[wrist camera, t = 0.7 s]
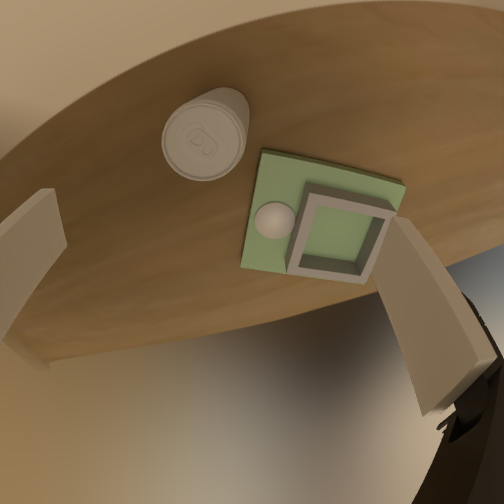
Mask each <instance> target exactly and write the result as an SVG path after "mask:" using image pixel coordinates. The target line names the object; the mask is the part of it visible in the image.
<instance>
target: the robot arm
mask: <svg viewBox="0 0 504 504" xmlns="http://www.w3.org/2000/svg"><path fill="white" fill-rule="evenodd" d="M66 247H67V242H66V238H65V234H64V230H63V226H62V222H61V217H60V213H59V208H58V203H57V198H56V193H55V188H46V189H40V190H39V191H38V192H36V193H35V194H34V195H33V196H31V197H30V198H29V199H28V200H27V201H25V202H24V203H23V204H22V205H21V206H20V207H18V208H17V209H16V210H15V211H14V212H13V213H12V214H10V215H9V216H8V217H7V218H6V219H5V220H4V221H3V222H2V223H1V224H0V343H1V342H2V340H3V338H4V336H5V335H6V333H7V331H8V330H9V328H10V326H11V325H12V323H13V322H14V320H15V318H16V317H17V315H18V314H19V312H20V311H21V309H22V308H23V306H24V304H25V303H26V301H27V300H28V299H29V297H30V296H31V294H32V293H33V291H34V290H35V288H36V287H37V286H38V284H39V283H40V281H41V280H42V279H43V277H44V276H45V274H46V273H47V272H48V270H49V269H50V268H51V266H52V265H53V264H54V262H55V261H56V260H57V259H58V257H59V256H60V255H61V253H62V252H63V251H64V250H65V248H66ZM371 275H372V277H373V280H374V282H375V284H376V287H377V289H378V291H379V294H380V296H381V299H382V301H383V303H384V306H385V309H386V311H387V313H388V316H389V318H390V321H391V324H392V326H393V329H394V332H395V334H396V337H397V339H398V342H399V345H400V348H401V351H402V353H403V356H404V359H405V362H406V365H407V368H408V371H409V374H410V377H411V380H412V383H413V386H414V390H415V393H416V396H417V399H418V403H419V406H420V409H421V413H422V416H423V417H426V416H431V415H436V414H440V413H443V412H444V411H445V410H446V409H447V408H448V407H449V406H450V405H451V404H453V403H454V405H455V408H456V411H454V412H453V413H452V414H451V415H450V416H449V417H447V418H446V419H445V420H444V421H443V422H441V423H440V424H439V425H438V427H437V430H440V429H441V428H442V427H444V426H445V425H446V424H447V427H446V429H445V430H444V431H443V432H442V433H444V436H443V438H442V441H441V443H440V445H439V448H438V450H437V452H436V455H435V457H434V459H433V462H432V464H431V466H430V468H429V470H428V473H427V475H426V477H425V479H424V481H423V483H422V485H421V487H420V489H419V491H418V493H417V495H416V496H415V498H414V500H413V502H412V504H504V359H503V356H502V354H501V352H500V350H499V349H498V347H497V345H496V343H495V341H494V339H493V337H492V336H491V334H490V332H489V330H488V328H487V327H486V326H485V325H484V324H485V323H484V321H483V320H482V318H481V316H479V313H478V311H477V309H476V308H475V306H474V305H473V303H472V302H471V301H470V300H469V299H468V298H467V297H466V296H465V295H464V294H463V293H462V292H460V290H459V289H458V287H457V285H456V284H455V282H454V281H453V279H452V278H451V276H450V275H449V273H448V272H447V270H446V269H445V267H444V266H443V264H442V263H441V262H440V260H439V259H438V257H437V256H436V254H435V253H434V252H433V250H432V249H431V248H430V246H429V245H428V243H427V242H426V241H425V239H424V238H423V237H422V235H421V234H420V233H419V232H418V230H417V229H416V228H415V226H414V225H413V224H412V223H411V221H410V220H409V219H408V218H402V217H396V216H392V217H391V220H390V223H389V226H388V229H387V232H386V235H385V237H384V240H383V243H382V246H381V248H380V251H379V254H378V256H377V259H376V262H375V264H374V267H373V269H372V272H371Z"/></svg>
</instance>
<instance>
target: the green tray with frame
mask: <svg viewBox="0 0 504 504" xmlns="http://www.w3.org/2000/svg"><path fill="white" fill-rule="evenodd" d="M406 188H407V187H406V186H405V185H404V184H403V183H402V182H401V181H398V180H395V179H392V178H388V177H385V176H381V175H377V174H374V173H370V172H366V171H363V170H359V169H355V168H351V167H347V166H343V165H339V164H335V163H330V162H326V161H322V160H317V159H312V158H308V157H303V156H298V155H293V154H288V153H283V152H278V151H272V150H267V149H262V151H261V156H260V161H259V166H258V171H257V177H256V182H255V187H254V192H253V198H252V203H251V208H250V214H249V219H248V224H247V230H246V235H245V240H244V246H243V251H242V256H241V265H240V267H242V268H248V269H255V270H262V271H269V272H276V273H283V274H290V275H298V276H305V277H312V278H319V279H327V280H334V281H342V282H349V283H357V284H365V283H366V281H367V279H368V277H369V275H370V273H371V271H372V269H373V267H374V264H375V262H376V259H377V256H378V254H379V251H380V248H381V246H382V243H383V240H384V237H385V235H386V232H387V229H388V226H389V223H390V220H391V217H392V216H396V215H397V211H398V208H399V206H400V203H401V201H402V198H403V195H404V193H405V190H406Z"/></svg>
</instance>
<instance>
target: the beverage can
mask: <svg viewBox="0 0 504 504" xmlns="http://www.w3.org/2000/svg"><path fill="white" fill-rule="evenodd" d="M249 118H250V110H249V105H248V102H247V100H246V99H245V97H244V96H243V94H241V93H240V92H239V91H237V90H235V89H232V88H227V87H221V88H216V89H213V90H211V91H209V92H207V93H205V94H203V95H201V96H199V97H197V98H195V99H193V100H191V101H189V102H187V103H185V104H183V105H182V106H180V107H179V108H178V109H177V110H175V111H174V112H173V113H172V115H171V116H170V118H169V119H168V120H167V123H166V125H165V127H164V130H163V133H162V144H161V145H162V149H163V154H164V156H165V158H166V160H167V162H168V164H169V165H170V166H171V167H172V168H173V169H174V171H176V172H177V173H179V174H180V175H182V176H183V177H186V178H188V179H191V180H196V181H210V180H215V179H217V178H220V177H223V176H224V175H225V174H227V173H228V172H230V171H231V170H232V169H233V168H234V167H235V166H236V165H237V163H238V162H239V161H240V160H241V157H242V155H243V153H244V151H245V146H246V140H247V133H248V127H249Z"/></svg>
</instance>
